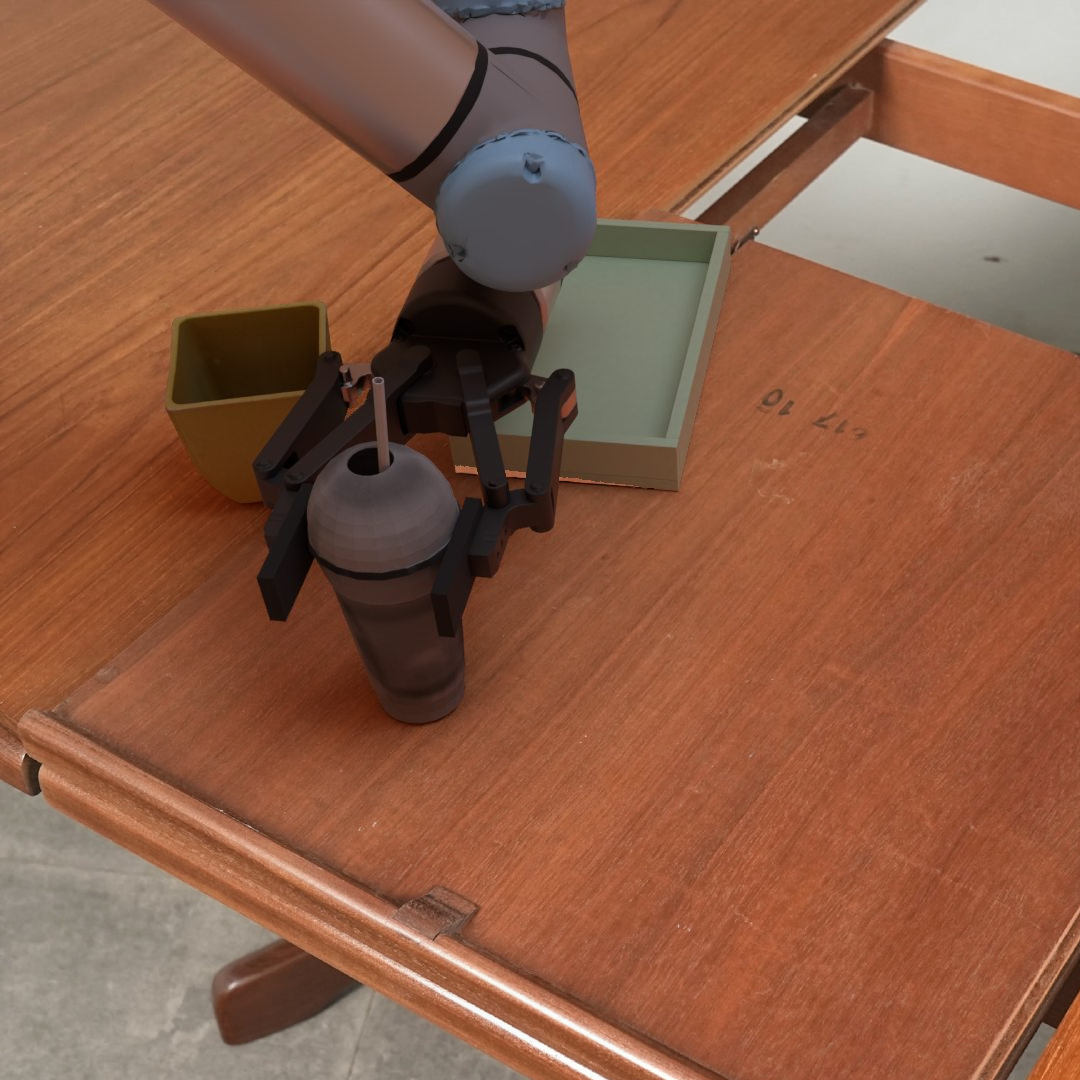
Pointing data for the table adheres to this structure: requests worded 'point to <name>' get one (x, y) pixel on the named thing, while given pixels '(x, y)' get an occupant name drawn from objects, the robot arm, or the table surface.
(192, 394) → the flower pot
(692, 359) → the tray
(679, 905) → the table surface
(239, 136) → the table surface
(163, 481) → the table surface
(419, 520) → the beverage cup
